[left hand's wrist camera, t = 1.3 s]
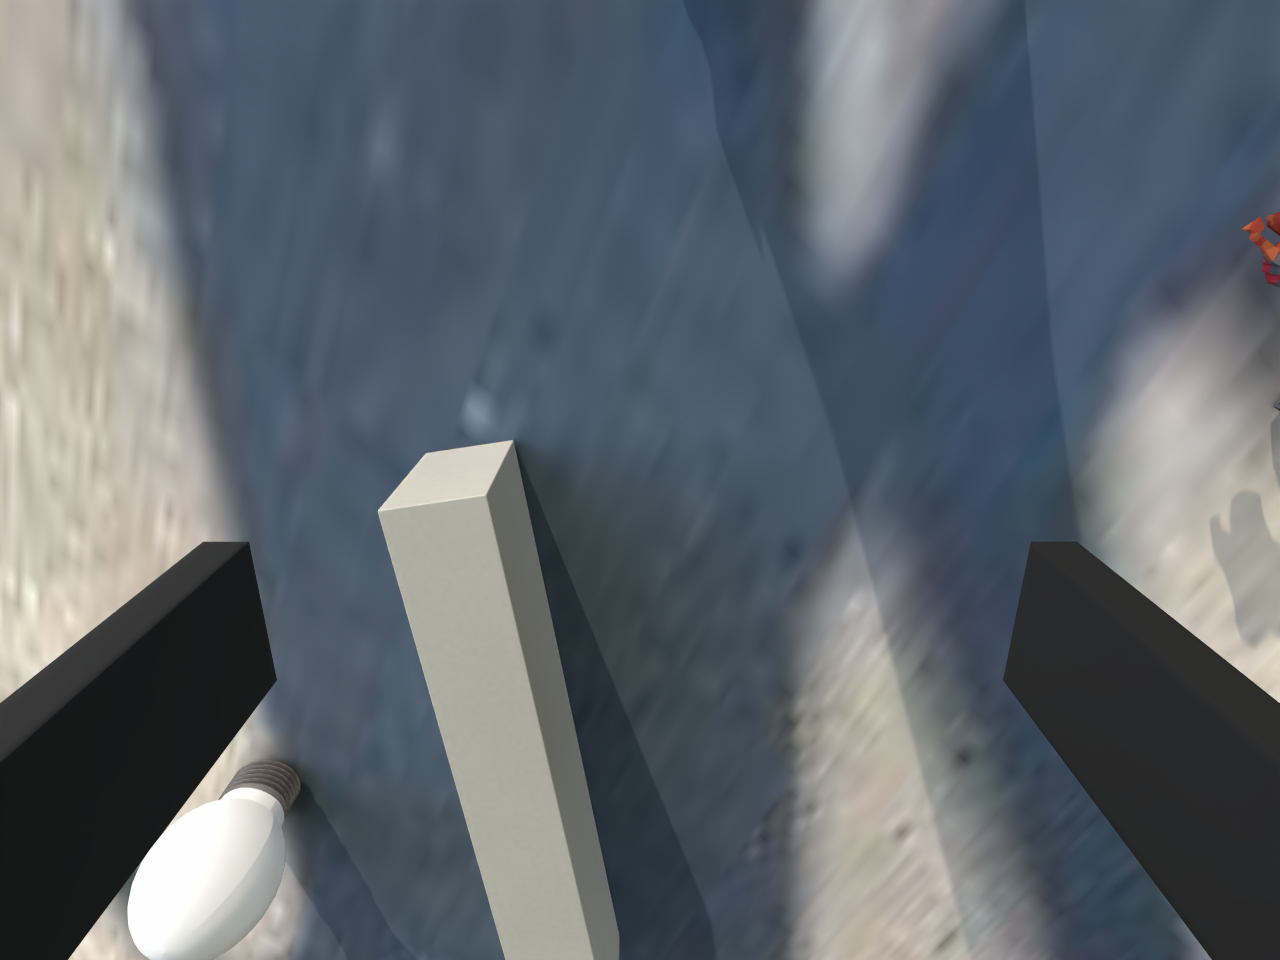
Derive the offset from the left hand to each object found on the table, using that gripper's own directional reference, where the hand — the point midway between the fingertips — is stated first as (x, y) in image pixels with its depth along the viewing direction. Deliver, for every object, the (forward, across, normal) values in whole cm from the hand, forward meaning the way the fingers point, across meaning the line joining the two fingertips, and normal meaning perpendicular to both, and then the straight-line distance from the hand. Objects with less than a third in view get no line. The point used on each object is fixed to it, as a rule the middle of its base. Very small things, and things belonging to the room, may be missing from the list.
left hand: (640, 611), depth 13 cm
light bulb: (+25, -23, -27) cm, 43 cm away
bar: (+26, -6, -23) cm, 35 cm away
